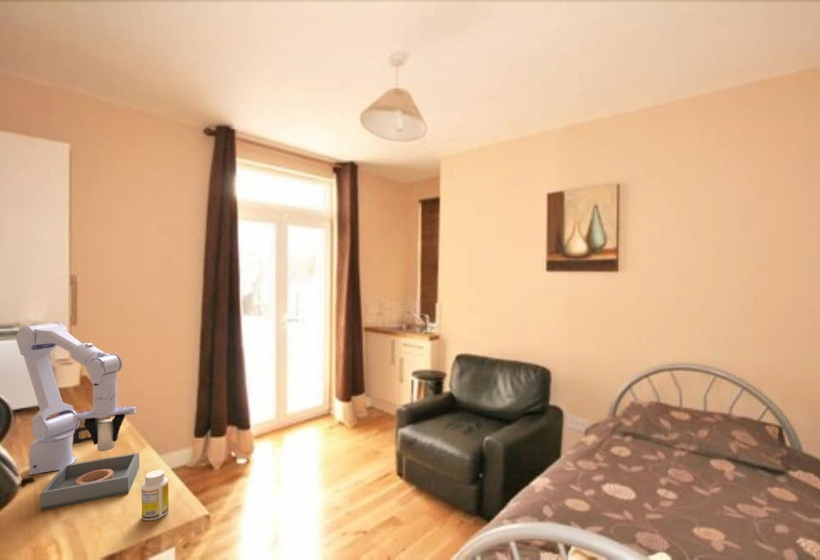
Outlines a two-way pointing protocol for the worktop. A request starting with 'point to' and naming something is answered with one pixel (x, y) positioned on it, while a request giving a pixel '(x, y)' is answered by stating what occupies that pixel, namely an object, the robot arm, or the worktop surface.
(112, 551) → the worktop surface
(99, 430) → the peg
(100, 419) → the ammunition clip
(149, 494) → the supplement bottle
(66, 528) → the worktop surface
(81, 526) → the worktop surface
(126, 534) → the worktop surface
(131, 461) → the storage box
